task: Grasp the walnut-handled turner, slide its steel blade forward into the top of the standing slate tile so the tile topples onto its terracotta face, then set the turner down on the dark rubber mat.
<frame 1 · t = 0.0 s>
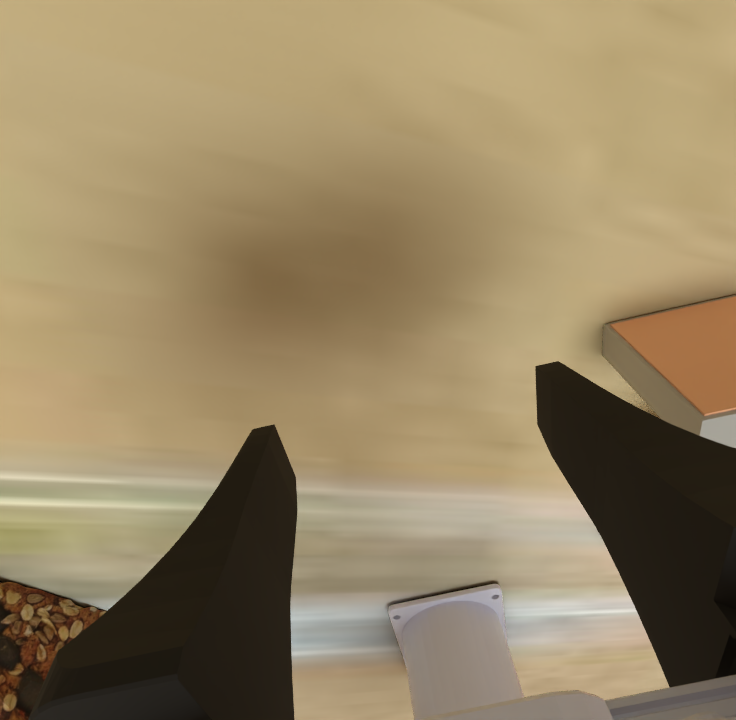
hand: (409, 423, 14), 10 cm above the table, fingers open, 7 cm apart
bread: (88, 641, 35), on the table
tile: (672, 324, 25), on the table
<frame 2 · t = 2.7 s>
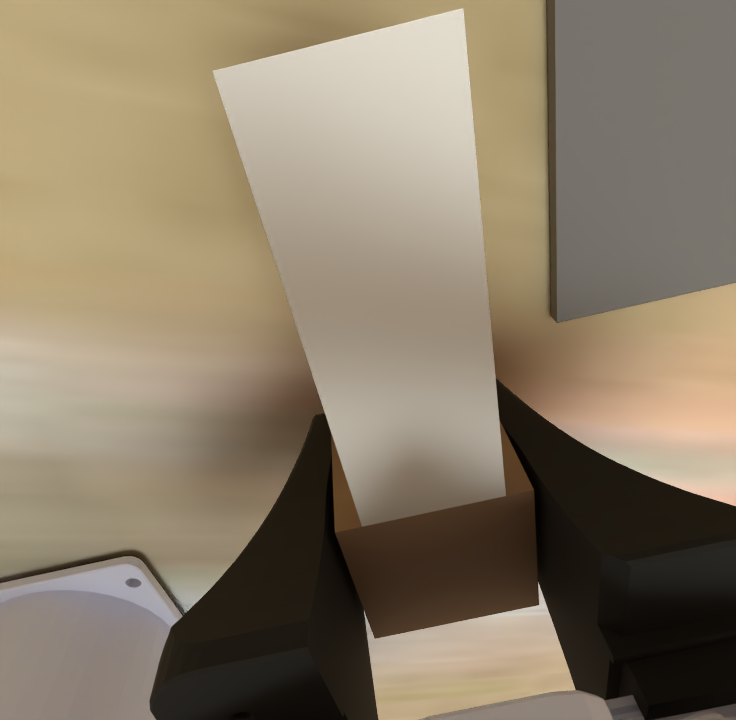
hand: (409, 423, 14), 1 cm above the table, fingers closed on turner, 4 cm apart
mat: (679, 115, 11), on the table
turner: (401, 393, 15), on the table, touching gripper
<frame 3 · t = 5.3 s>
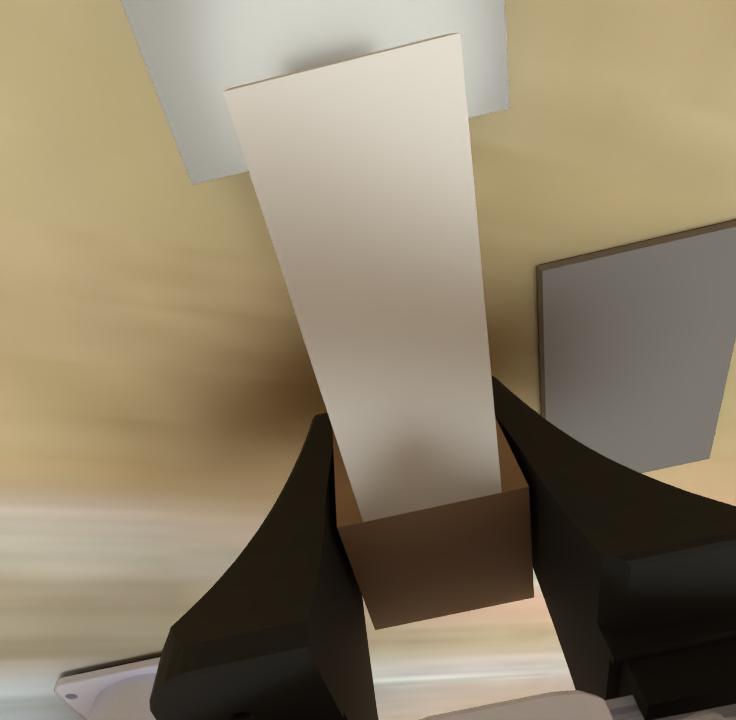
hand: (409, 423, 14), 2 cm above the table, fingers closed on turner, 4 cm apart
tile: (346, 140, 12), point 1 cm above the table, tilted 90°
mat: (631, 371, 16), on the table
turner: (401, 391, 15), point 1 cm above the table, touching gripper
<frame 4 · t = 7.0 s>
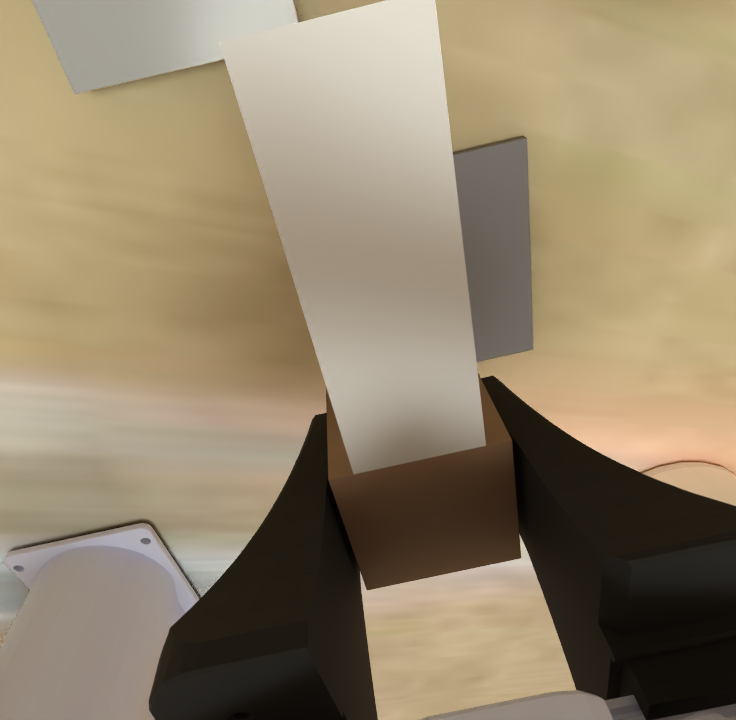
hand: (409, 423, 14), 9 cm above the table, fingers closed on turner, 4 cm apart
tile: (193, 66, 16), point 1 cm above the table, tilted 90°
mug: (638, 529, 31), on the table
mat: (455, 268, 21), on the table
turner: (395, 370, 16), point 6 cm above the table, touching gripper
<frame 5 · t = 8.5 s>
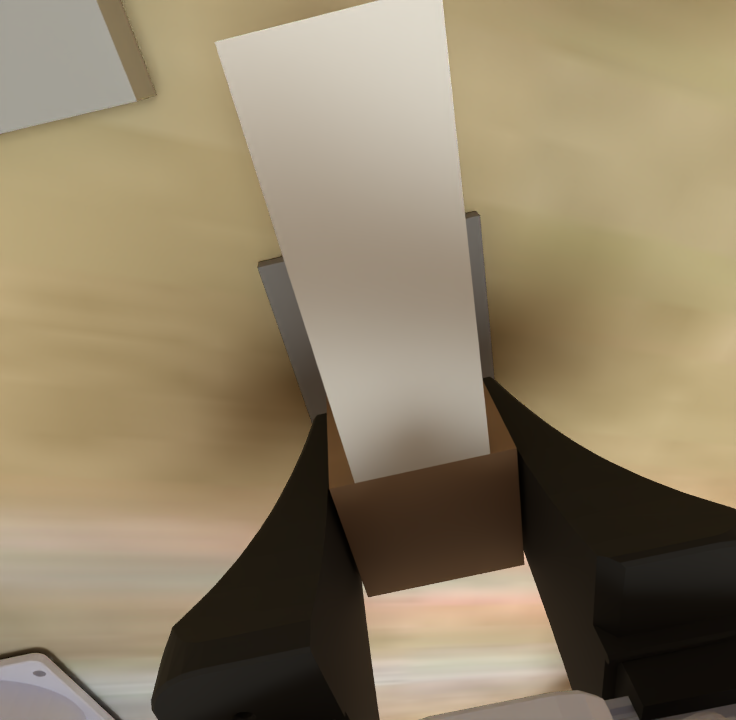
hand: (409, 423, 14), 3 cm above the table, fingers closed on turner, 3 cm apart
mat: (395, 371, 16), on the table
turner: (396, 371, 15), on the table, touching gripper, mat
when the fingers open (3 cm above the table, at t = 8.7 s): turner stays where it is, resting on mat.
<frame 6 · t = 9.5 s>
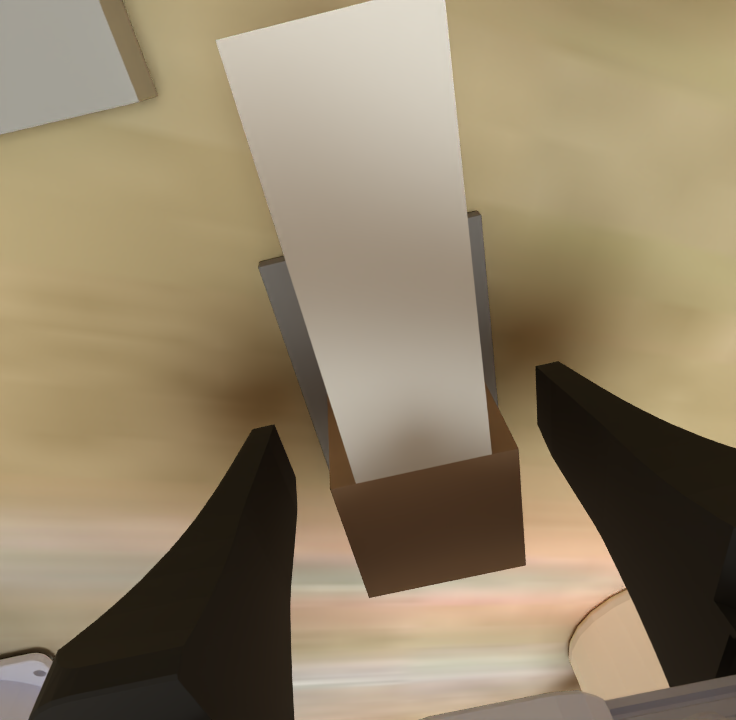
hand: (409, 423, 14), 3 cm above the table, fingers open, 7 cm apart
mug: (639, 636, 26), on the table
mat: (396, 371, 16), on the table
turner: (396, 371, 15), resting on mat
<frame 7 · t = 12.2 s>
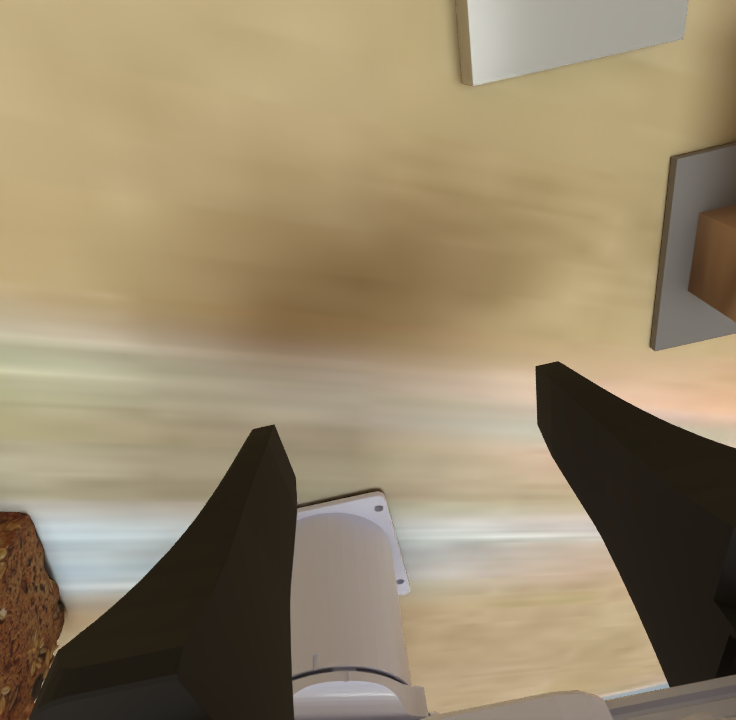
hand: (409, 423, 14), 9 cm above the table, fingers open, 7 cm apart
tile: (566, 61, 17), point 1 cm above the table, tilted 90°
mat: (727, 246, 22), on the table
turner: (734, 244, 22), resting on mat
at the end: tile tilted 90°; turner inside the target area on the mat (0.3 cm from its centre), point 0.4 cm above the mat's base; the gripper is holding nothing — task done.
